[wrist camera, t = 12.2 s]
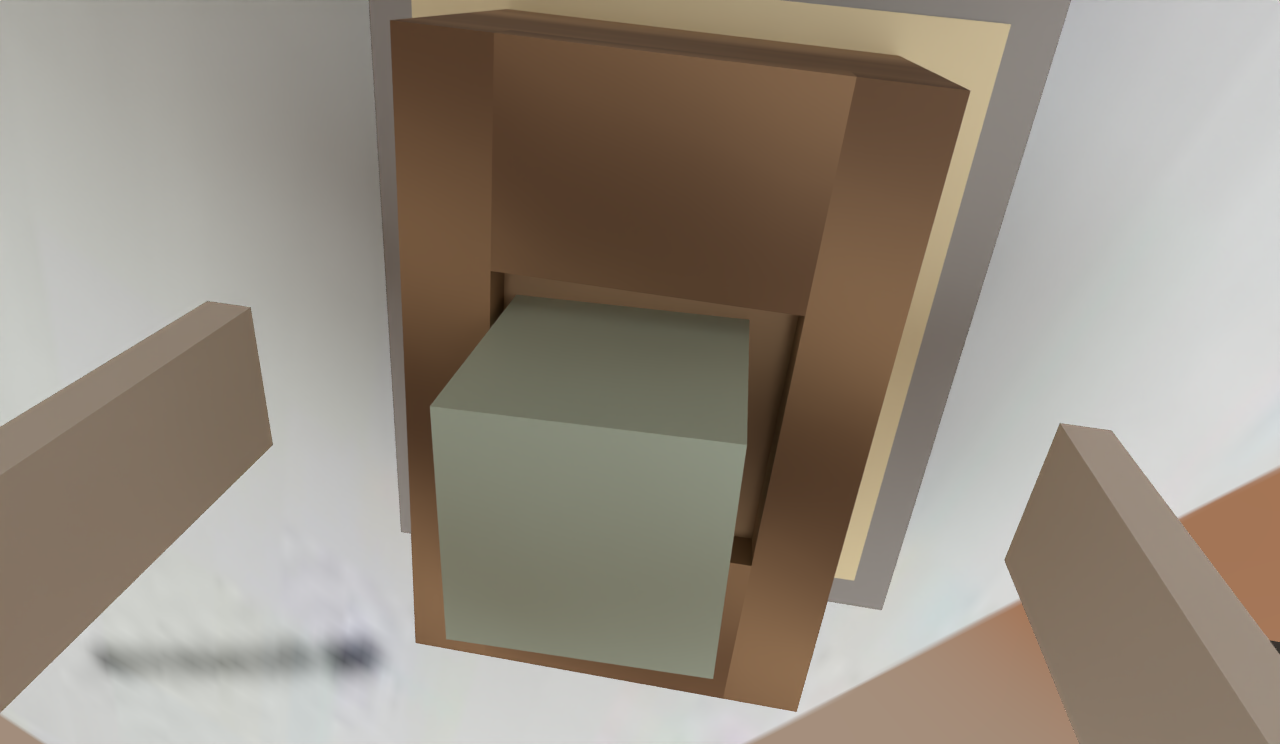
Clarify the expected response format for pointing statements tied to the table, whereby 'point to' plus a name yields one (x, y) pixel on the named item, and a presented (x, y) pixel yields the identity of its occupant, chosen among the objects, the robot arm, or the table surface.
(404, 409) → the panel
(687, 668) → the block
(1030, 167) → the table surface
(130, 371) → the robot arm
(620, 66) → the brown open box
